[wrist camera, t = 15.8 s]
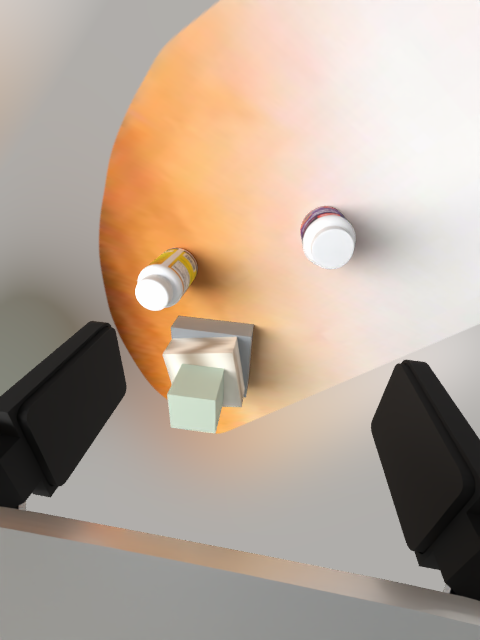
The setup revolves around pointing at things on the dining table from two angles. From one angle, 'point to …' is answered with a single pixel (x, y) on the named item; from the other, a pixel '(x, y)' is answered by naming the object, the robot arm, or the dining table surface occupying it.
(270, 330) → the dining table surface
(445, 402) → the robot arm
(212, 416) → the sage block
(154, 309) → the supplement bottle
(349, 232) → the pill bottle
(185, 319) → the base block
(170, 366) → the top block
